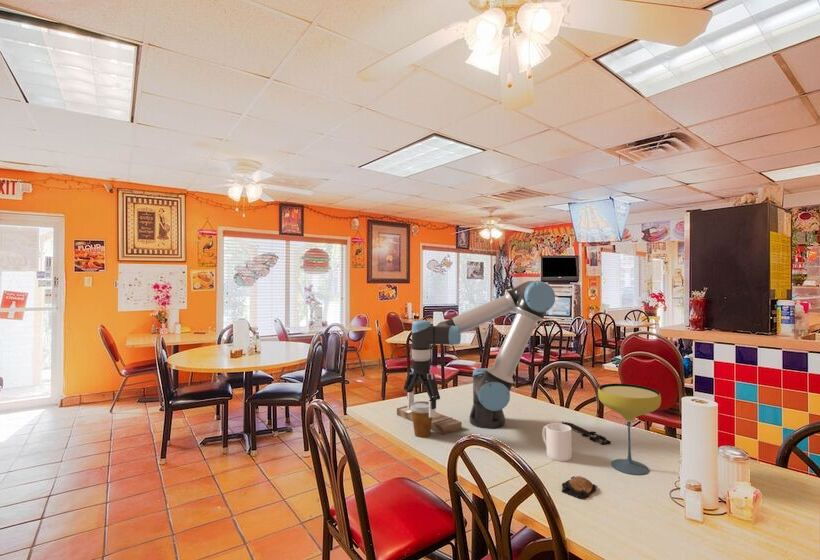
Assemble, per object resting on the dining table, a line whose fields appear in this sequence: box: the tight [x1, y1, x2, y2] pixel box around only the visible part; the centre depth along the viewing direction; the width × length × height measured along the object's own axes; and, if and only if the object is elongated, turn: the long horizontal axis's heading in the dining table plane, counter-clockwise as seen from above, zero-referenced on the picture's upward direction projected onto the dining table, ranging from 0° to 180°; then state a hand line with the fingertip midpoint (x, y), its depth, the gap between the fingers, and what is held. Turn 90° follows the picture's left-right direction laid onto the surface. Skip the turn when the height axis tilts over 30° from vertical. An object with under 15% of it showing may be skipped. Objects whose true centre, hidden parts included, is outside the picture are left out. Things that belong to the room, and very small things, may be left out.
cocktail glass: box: [597, 383, 662, 476], centre depth 134 cm, size 18×18×25 cm
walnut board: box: [396, 405, 463, 436], centre depth 180 cm, size 32×10×3 cm, turn 37°
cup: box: [541, 422, 573, 462], centre depth 144 cm, size 8×12×10 cm
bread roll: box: [561, 475, 598, 501], centre depth 121 cm, size 11×8×4 cm
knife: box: [561, 421, 612, 446], centre depth 164 cm, size 25×6×1 cm, turn 13°
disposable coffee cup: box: [410, 401, 432, 438], centre depth 165 cm, size 10×10×12 cm
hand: (421, 412), depth 165 cm, fingers open, 13 cm apart
